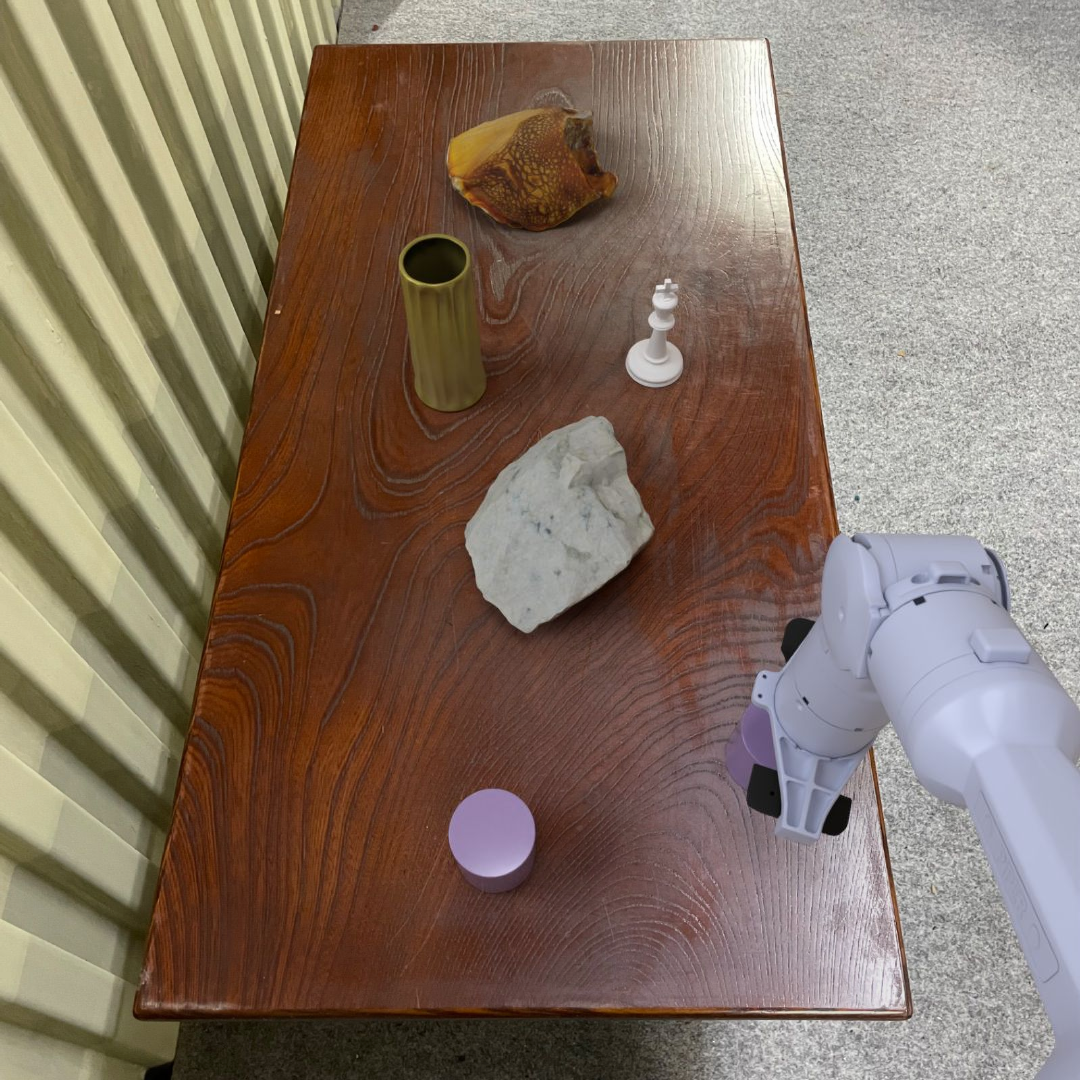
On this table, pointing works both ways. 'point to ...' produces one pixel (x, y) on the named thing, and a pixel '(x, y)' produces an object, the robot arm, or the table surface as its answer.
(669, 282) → the chess piece
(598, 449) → the rock
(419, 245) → the vase
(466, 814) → the lavender cylinder post
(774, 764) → the purple round peg
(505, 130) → the seashell
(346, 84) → the table surface
